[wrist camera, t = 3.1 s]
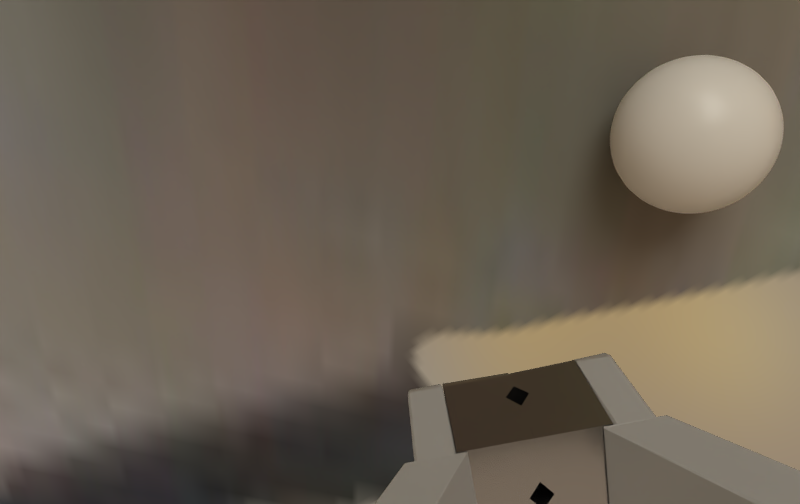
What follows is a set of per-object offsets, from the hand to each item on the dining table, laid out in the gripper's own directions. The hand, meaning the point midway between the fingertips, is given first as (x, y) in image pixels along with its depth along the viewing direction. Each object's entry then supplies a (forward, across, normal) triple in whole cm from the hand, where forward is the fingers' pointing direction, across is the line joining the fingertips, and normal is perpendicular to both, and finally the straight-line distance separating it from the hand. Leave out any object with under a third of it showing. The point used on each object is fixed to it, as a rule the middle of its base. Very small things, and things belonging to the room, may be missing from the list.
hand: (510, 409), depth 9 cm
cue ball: (+13, -10, 0) cm, 16 cm away
